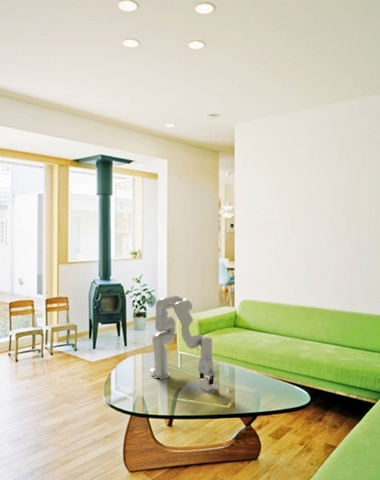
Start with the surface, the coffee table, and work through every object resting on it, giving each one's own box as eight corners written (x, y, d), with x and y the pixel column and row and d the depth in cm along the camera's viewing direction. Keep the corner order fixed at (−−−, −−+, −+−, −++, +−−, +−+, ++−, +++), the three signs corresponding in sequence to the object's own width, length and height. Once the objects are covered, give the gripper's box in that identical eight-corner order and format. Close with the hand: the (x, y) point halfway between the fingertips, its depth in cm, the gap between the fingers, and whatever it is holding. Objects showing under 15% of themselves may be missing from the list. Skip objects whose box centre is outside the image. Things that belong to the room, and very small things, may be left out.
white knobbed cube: (207, 391, 256) (206, 380, 256) (200, 388, 261) (199, 377, 261) (214, 388, 260) (213, 377, 260) (207, 385, 265) (206, 375, 265)
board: (180, 391, 260) (180, 389, 260) (189, 382, 274) (189, 381, 274) (212, 395, 251) (212, 393, 251) (219, 386, 265) (219, 385, 265)
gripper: (193, 354, 265) (194, 379, 266) (210, 361, 251) (210, 387, 252) (202, 351, 270) (202, 376, 270) (219, 358, 256) (219, 384, 256)
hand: (206, 381), depth 261 cm, fingers open, 9 cm apart
